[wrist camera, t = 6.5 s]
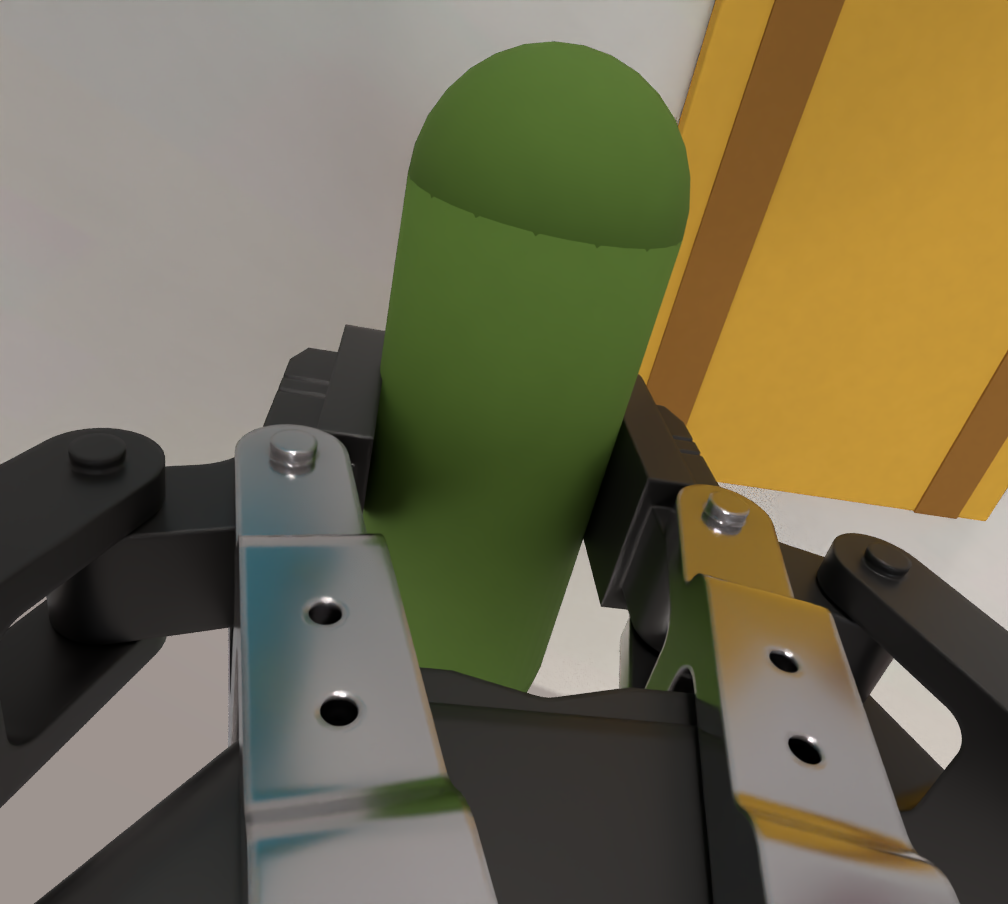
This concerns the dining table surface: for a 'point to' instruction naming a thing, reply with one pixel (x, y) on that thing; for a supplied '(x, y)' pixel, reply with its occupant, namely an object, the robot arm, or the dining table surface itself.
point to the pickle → (517, 341)
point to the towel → (846, 253)
